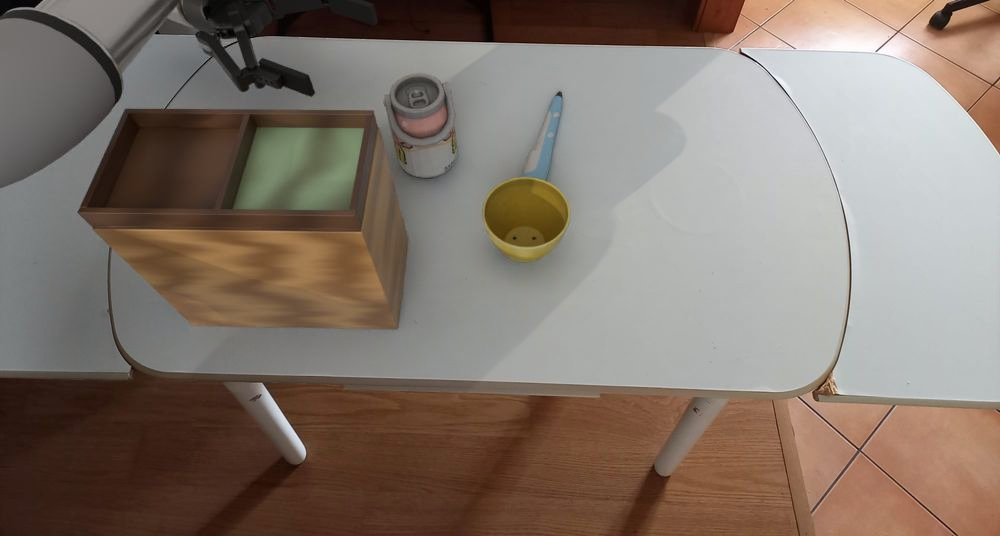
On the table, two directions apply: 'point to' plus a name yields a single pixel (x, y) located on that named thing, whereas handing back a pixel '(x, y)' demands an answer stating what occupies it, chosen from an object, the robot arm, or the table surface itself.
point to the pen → (544, 143)
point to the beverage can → (422, 124)
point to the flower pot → (526, 217)
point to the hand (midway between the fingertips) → (343, 49)
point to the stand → (281, 268)
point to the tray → (234, 170)
